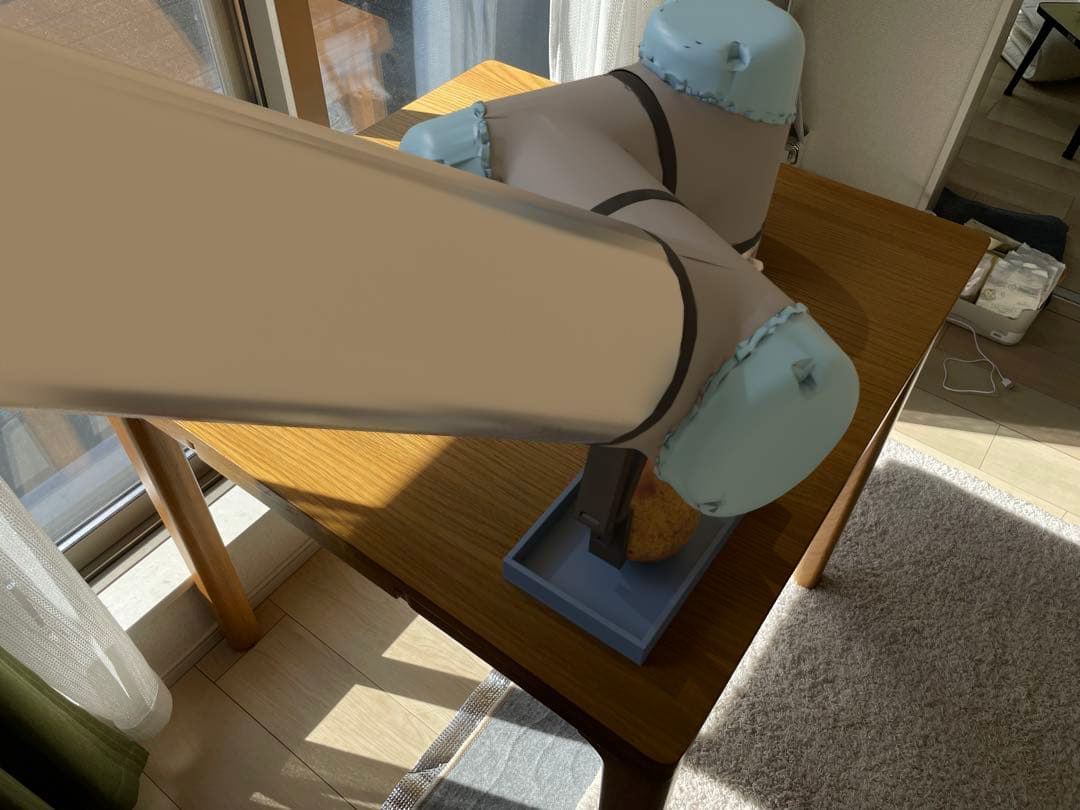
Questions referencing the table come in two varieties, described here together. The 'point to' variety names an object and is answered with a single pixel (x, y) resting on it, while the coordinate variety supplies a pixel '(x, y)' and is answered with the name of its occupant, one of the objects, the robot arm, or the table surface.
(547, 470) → the table surface
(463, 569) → the table surface
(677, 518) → the fruit
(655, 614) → the tray
